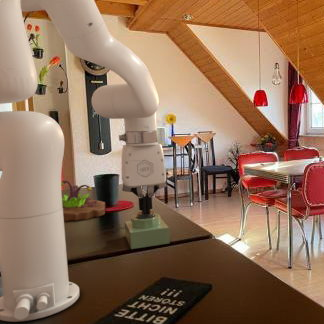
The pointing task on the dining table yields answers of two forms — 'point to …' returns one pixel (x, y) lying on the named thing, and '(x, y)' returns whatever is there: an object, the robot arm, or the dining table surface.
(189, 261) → the dining table surface
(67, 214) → the plant
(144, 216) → the dark round button cap
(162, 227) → the button base
